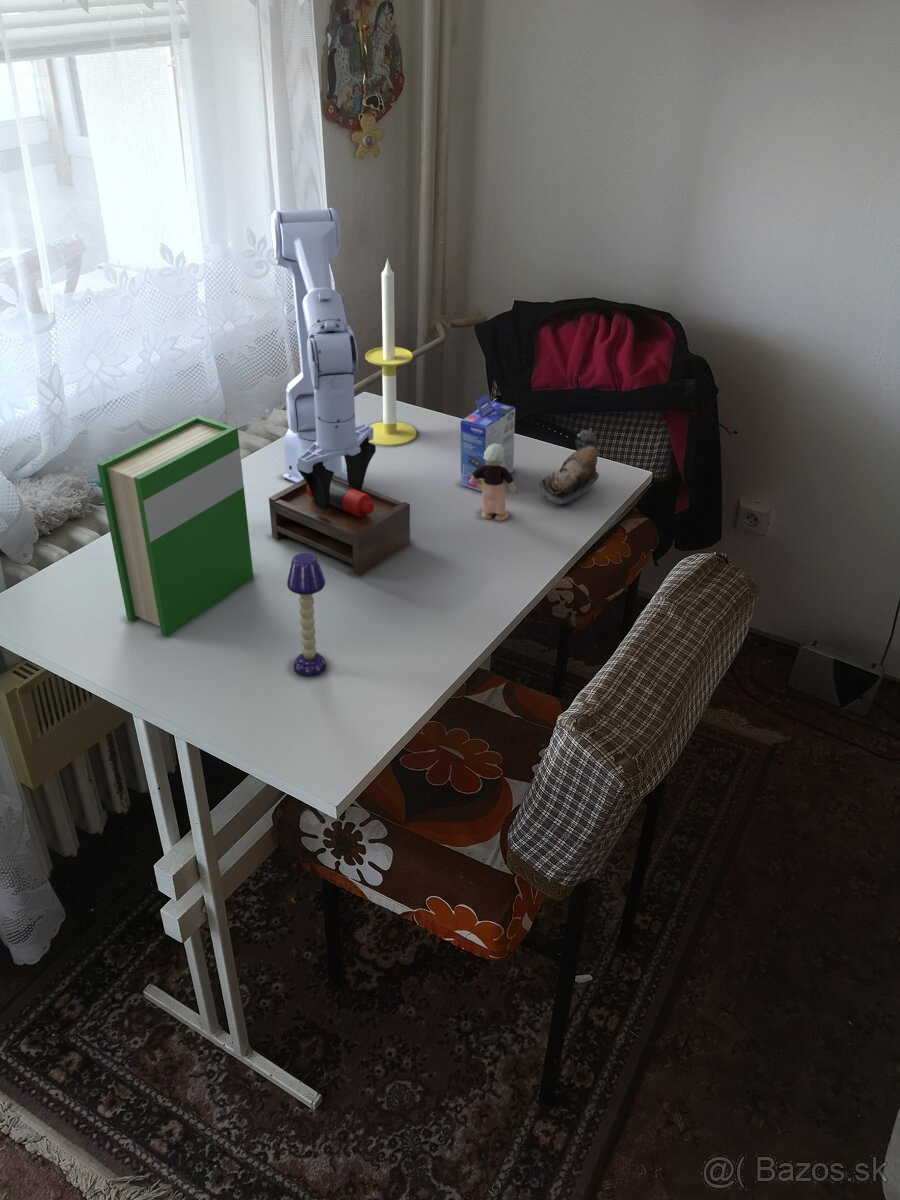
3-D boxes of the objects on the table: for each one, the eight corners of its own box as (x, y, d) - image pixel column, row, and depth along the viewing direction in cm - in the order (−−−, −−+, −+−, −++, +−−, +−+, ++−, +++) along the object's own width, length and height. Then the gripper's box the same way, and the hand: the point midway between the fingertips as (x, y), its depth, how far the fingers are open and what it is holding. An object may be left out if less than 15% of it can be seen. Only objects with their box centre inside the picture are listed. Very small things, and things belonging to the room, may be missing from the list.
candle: (398, 450, 186) (396, 270, 168) (352, 437, 190) (345, 260, 172) (427, 430, 193) (428, 255, 175) (382, 418, 198) (379, 246, 179)
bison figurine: (566, 514, 169) (571, 459, 163) (530, 500, 172) (534, 446, 166) (603, 487, 176) (610, 433, 171) (568, 475, 180) (574, 422, 174)
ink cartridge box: (487, 463, 183) (490, 386, 175) (514, 471, 181) (519, 394, 172) (457, 485, 176) (459, 406, 168) (485, 494, 174) (488, 414, 165)
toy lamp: (294, 655, 136) (285, 548, 127) (330, 654, 137) (323, 547, 127) (293, 678, 132) (284, 569, 123) (329, 676, 133) (323, 568, 123)
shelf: (272, 537, 161) (268, 497, 157) (324, 507, 169) (322, 469, 165) (359, 576, 152) (358, 535, 148) (410, 543, 160) (410, 503, 156)
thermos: (307, 501, 158) (305, 480, 156) (323, 491, 161) (321, 470, 159) (362, 524, 153) (361, 503, 151) (378, 513, 155) (377, 492, 153)
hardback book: (166, 637, 139) (139, 479, 125) (127, 619, 142) (96, 463, 129) (253, 577, 151) (237, 427, 138) (215, 562, 155) (196, 414, 141)
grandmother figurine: (515, 511, 169) (519, 440, 162) (514, 522, 166) (518, 451, 159) (468, 508, 170) (471, 437, 162) (466, 519, 167) (469, 448, 159)
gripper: (321, 439, 142) (326, 524, 149) (388, 405, 151) (389, 487, 159) (284, 425, 145) (290, 509, 153) (352, 393, 155) (355, 473, 163)
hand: (339, 497), depth 156 cm, fingers open, 7 cm apart
